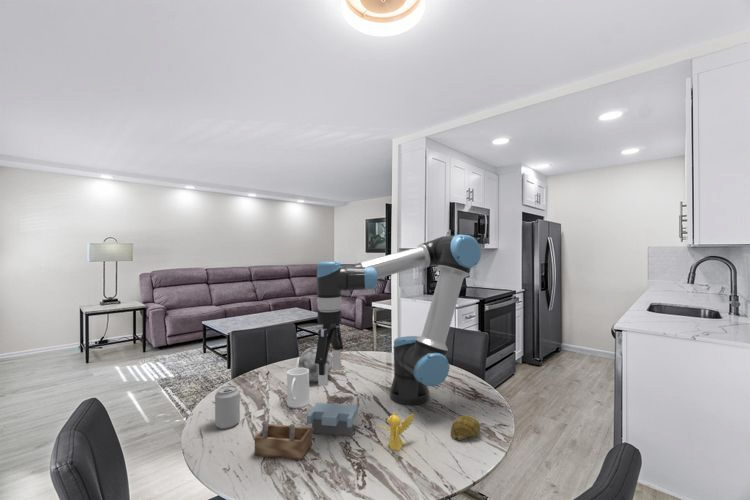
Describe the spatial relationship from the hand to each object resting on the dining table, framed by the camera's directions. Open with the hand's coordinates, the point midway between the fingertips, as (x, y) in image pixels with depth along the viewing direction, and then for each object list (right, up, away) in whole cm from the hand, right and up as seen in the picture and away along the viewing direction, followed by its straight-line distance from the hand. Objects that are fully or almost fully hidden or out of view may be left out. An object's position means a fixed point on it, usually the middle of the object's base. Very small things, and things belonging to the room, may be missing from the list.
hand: (330, 376), depth 108 cm
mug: (-15, -17, +18) cm, 29 cm away
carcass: (-12, -17, -11) cm, 23 cm away
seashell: (+42, -17, -5) cm, 45 cm away
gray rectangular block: (+1, -17, -1) cm, 17 cm away
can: (-35, -18, +4) cm, 39 cm away
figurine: (+18, -17, -8) cm, 26 cm away
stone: (-12, -18, +42) cm, 47 cm away
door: (+1, -13, -1) cm, 13 cm away
